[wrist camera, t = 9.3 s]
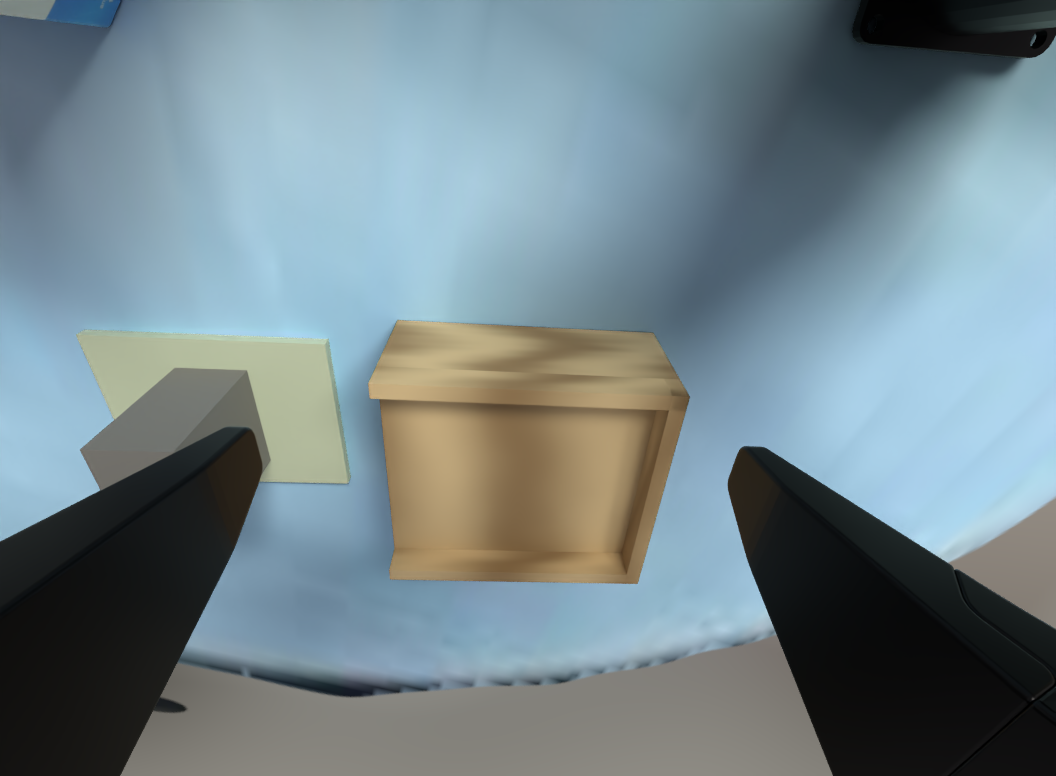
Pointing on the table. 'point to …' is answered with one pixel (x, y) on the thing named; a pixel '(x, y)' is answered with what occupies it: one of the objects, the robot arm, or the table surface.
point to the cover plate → (273, 377)
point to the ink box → (63, 10)
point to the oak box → (525, 450)
